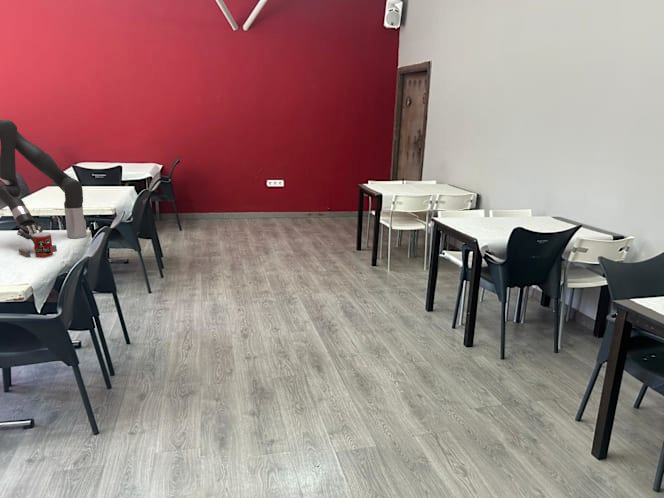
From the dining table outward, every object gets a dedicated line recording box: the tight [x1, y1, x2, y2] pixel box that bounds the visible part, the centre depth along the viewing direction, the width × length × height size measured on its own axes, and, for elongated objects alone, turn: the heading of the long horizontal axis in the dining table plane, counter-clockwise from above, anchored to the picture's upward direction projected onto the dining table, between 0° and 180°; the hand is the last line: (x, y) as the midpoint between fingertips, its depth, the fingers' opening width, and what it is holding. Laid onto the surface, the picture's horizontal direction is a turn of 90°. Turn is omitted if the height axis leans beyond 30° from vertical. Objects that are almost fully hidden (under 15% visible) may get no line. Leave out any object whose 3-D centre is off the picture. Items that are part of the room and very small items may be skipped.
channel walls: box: [18, 248, 26, 257], centre depth 254 cm, size 14×6×2 cm, turn 148°
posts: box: [24, 244, 58, 258], centre depth 252 cm, size 15×2×3 cm, turn 148°
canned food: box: [33, 231, 54, 258], centre depth 249 cm, size 8×8×11 cm
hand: (38, 244), depth 252 cm, fingers closed
